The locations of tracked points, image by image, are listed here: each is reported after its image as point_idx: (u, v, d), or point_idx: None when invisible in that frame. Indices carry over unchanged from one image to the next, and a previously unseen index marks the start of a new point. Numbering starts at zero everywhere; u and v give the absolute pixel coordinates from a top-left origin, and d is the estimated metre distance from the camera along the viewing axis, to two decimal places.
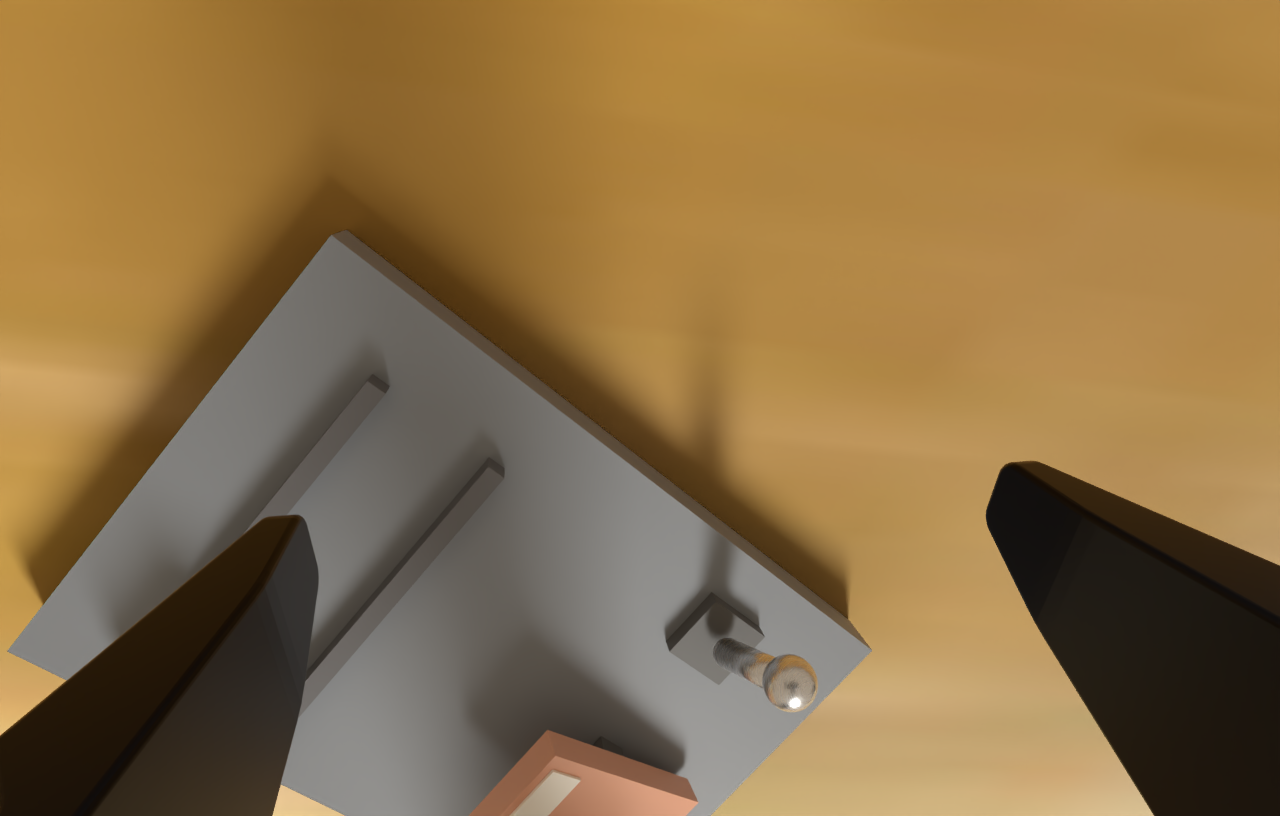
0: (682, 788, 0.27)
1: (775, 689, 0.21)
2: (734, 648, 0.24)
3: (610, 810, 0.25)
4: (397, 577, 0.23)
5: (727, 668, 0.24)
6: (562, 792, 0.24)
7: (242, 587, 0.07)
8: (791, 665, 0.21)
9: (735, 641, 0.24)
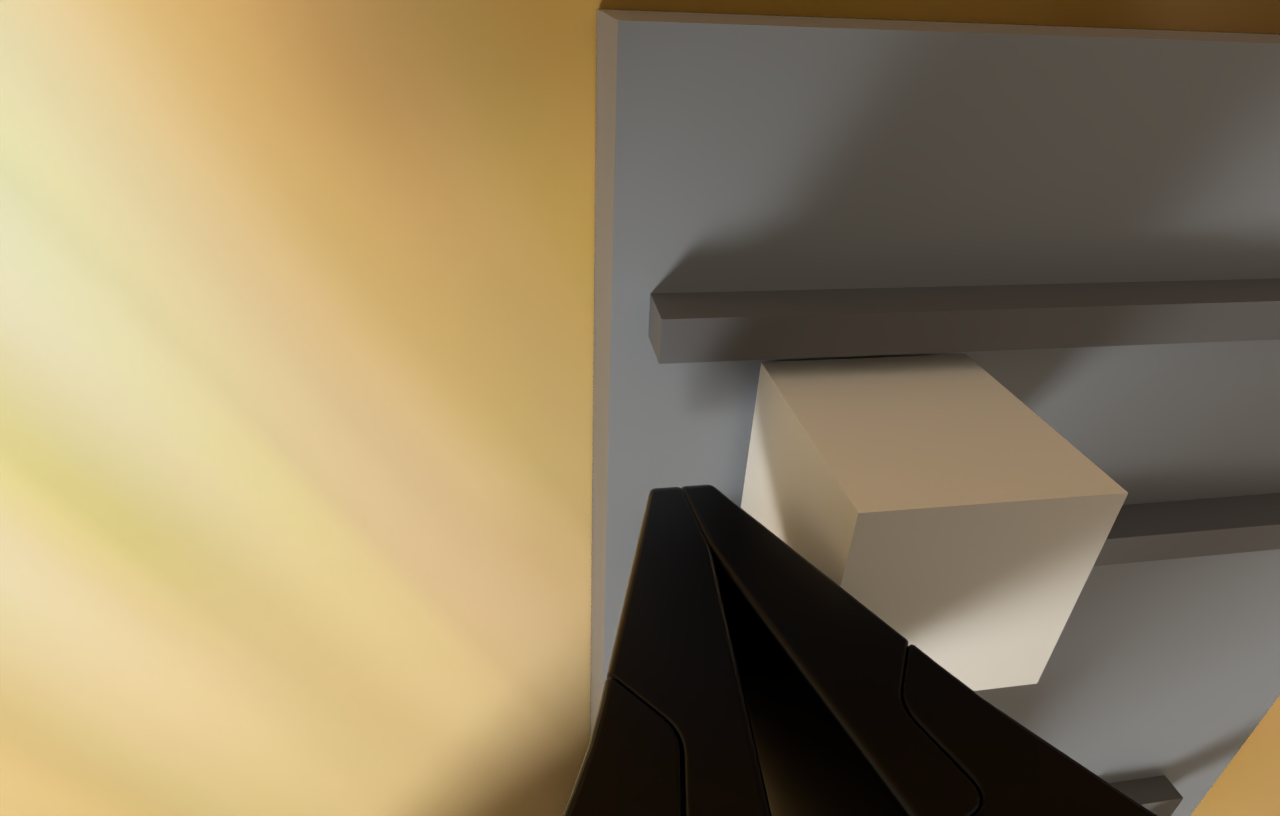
0: None
1: None
2: None
3: None
4: (1146, 539, 0.12)
5: None
6: None
7: (697, 548, 0.08)
8: None
9: None
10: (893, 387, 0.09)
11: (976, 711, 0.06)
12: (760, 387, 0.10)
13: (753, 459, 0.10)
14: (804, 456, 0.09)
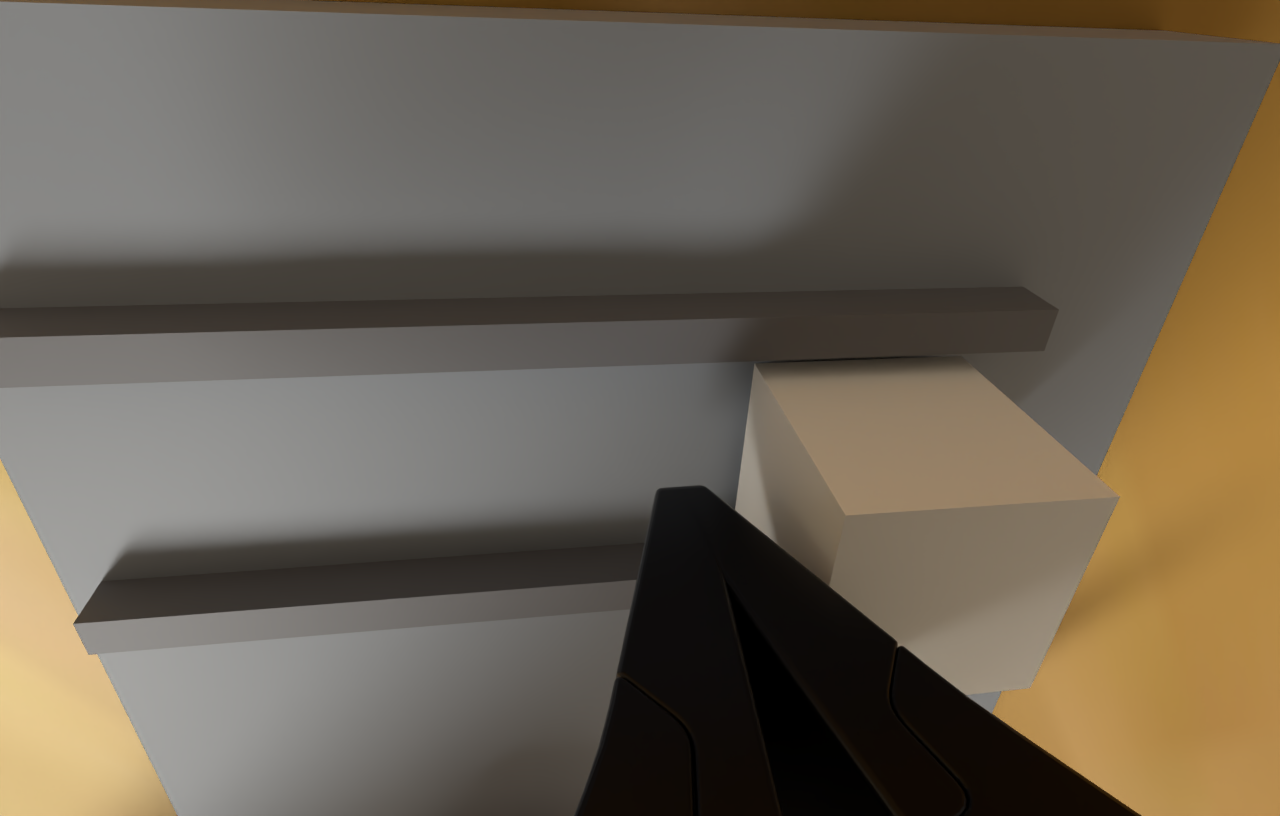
0: None
1: None
2: None
3: None
4: None
5: None
6: None
7: (704, 547, 0.08)
8: None
9: None
10: (886, 389, 0.09)
11: (964, 713, 0.06)
12: (753, 388, 0.10)
13: (747, 461, 0.10)
14: (794, 457, 0.09)
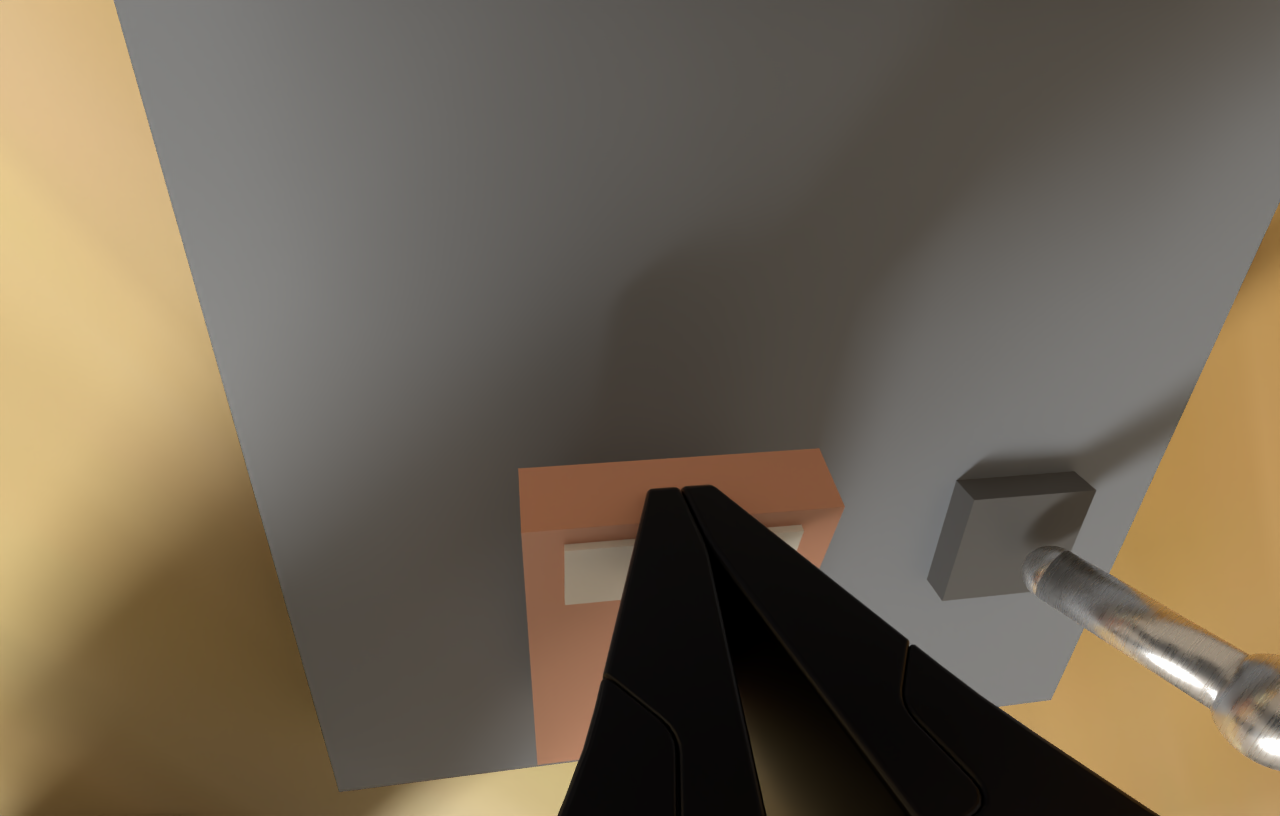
0: None
1: None
2: (1114, 579, 0.12)
3: None
4: None
5: (1078, 599, 0.12)
6: None
7: (694, 548, 0.08)
8: None
9: None
10: None
11: (978, 711, 0.06)
12: None
13: None
14: None
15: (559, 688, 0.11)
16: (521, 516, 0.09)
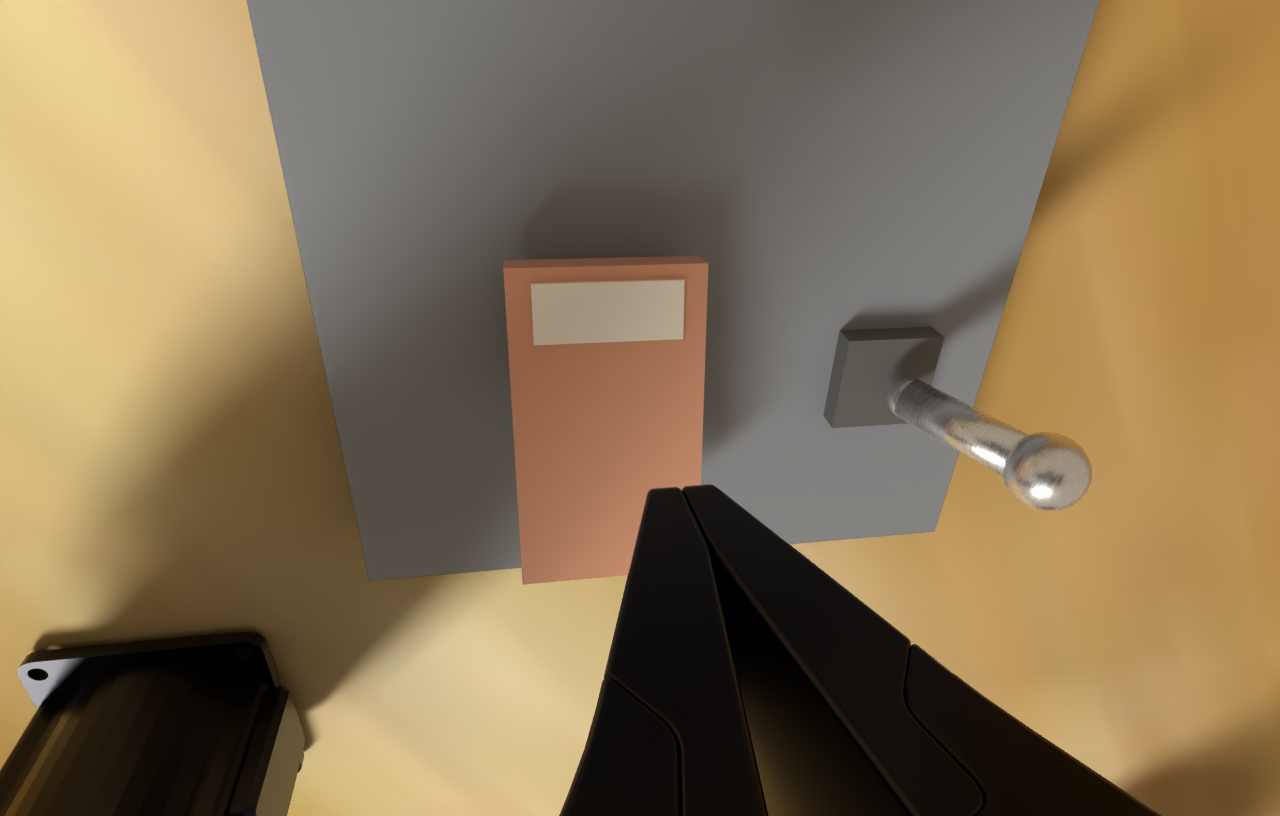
0: None
1: (1058, 461, 0.14)
2: (949, 396, 0.17)
3: (639, 441, 0.16)
4: None
5: (921, 409, 0.17)
6: (647, 331, 0.15)
7: (695, 547, 0.08)
8: (1084, 453, 0.15)
9: None
10: None
11: (979, 710, 0.06)
12: None
13: None
14: None
15: (535, 461, 0.15)
16: (504, 267, 0.14)
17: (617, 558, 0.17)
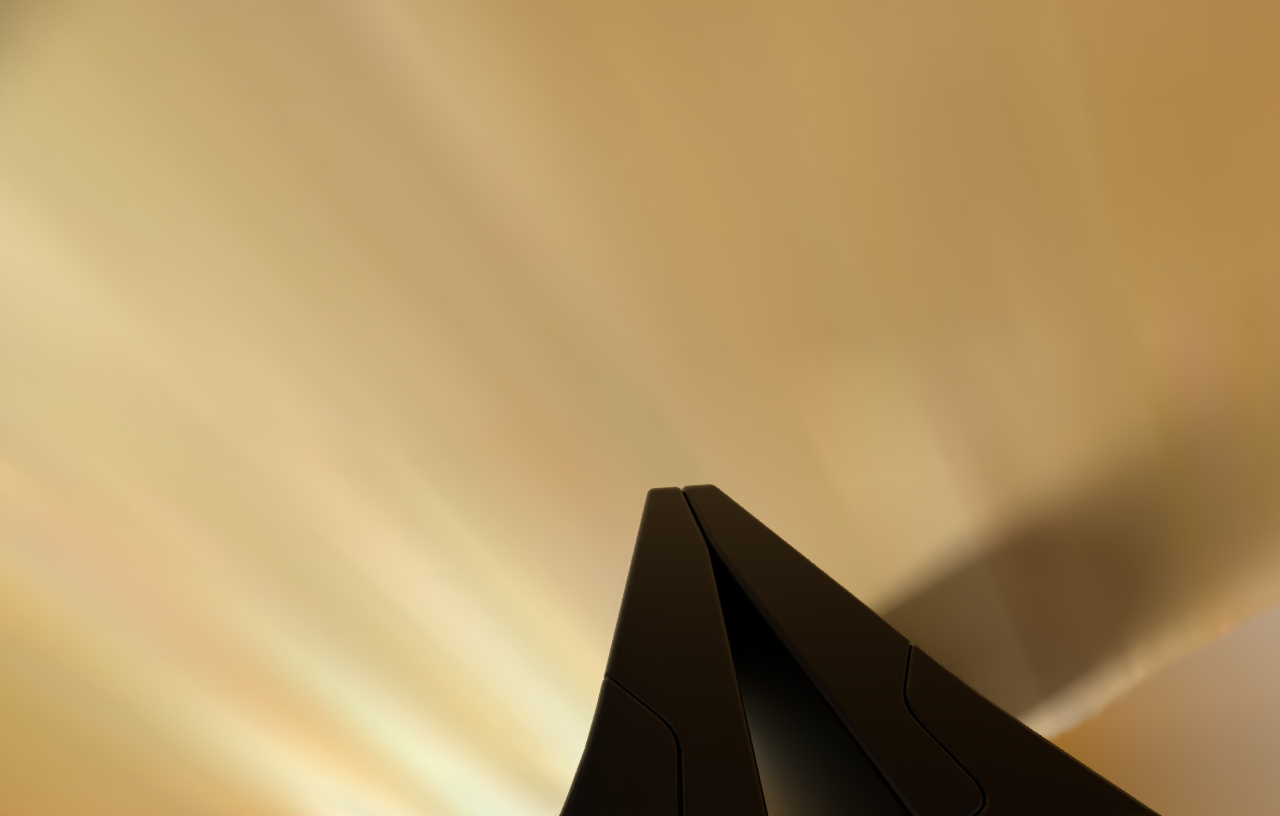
0: None
1: None
2: None
3: None
4: None
5: None
6: None
7: (695, 548, 0.08)
8: None
9: None
10: None
11: (979, 711, 0.06)
12: None
13: None
14: None
15: None
16: None
17: None
